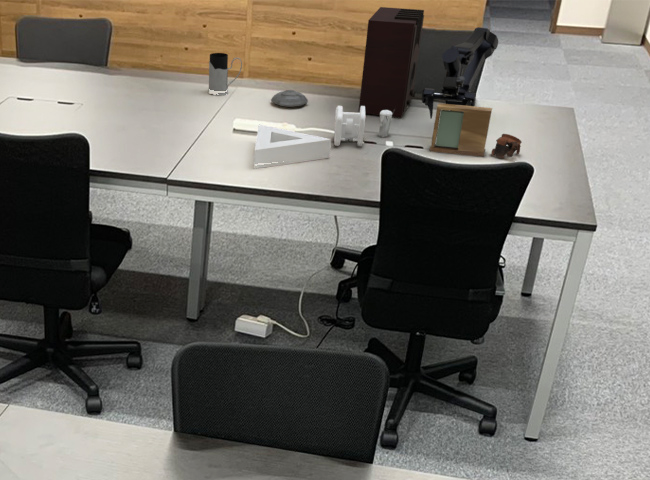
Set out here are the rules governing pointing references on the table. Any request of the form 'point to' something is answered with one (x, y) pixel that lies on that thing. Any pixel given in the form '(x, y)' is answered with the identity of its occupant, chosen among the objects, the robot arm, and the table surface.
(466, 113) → the door frame
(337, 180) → the table surface
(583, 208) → the table surface
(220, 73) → the glass holder
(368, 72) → the radio
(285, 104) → the flying saucer
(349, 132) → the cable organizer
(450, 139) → the door
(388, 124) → the milkshake
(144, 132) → the table surface
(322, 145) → the triangle block
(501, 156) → the brown miniature stool
